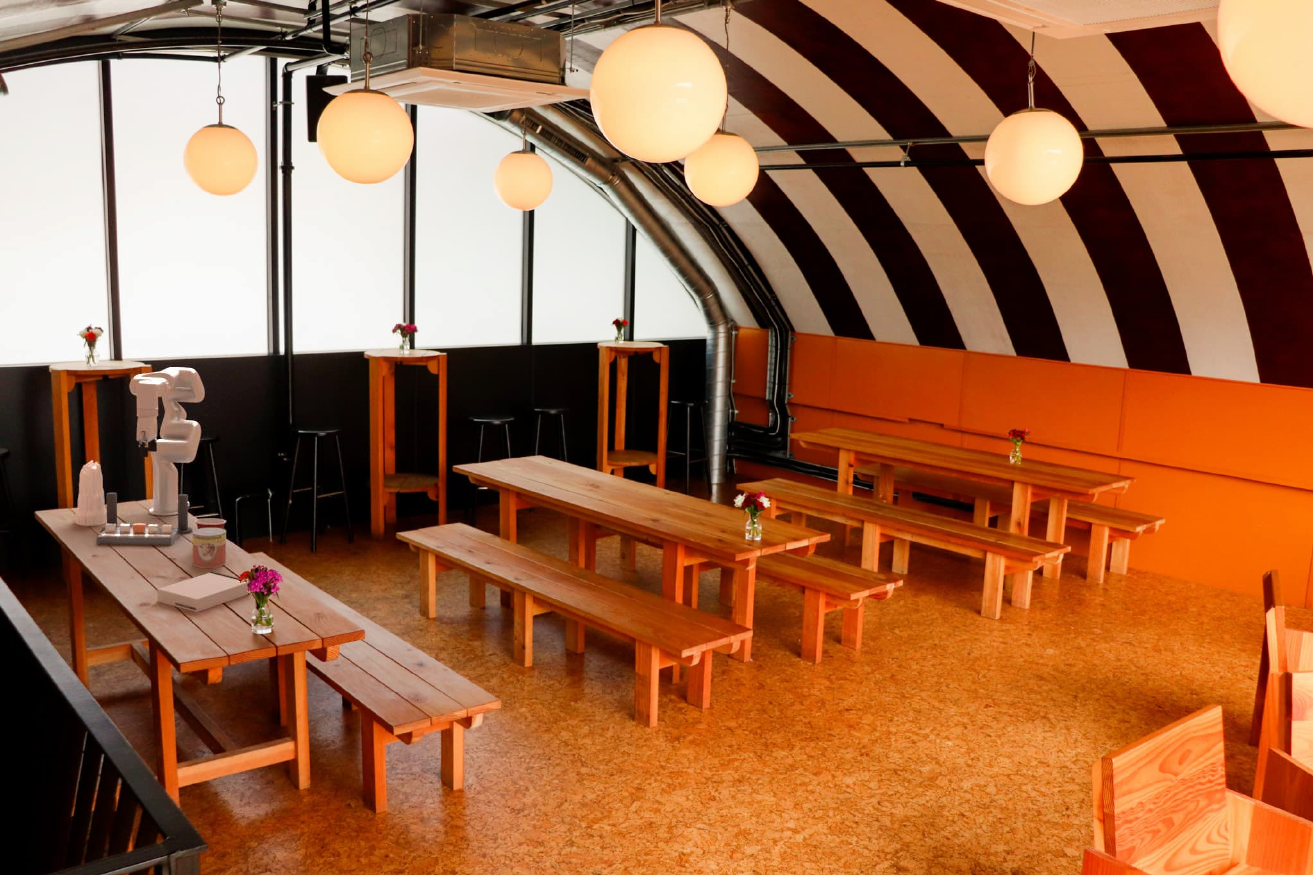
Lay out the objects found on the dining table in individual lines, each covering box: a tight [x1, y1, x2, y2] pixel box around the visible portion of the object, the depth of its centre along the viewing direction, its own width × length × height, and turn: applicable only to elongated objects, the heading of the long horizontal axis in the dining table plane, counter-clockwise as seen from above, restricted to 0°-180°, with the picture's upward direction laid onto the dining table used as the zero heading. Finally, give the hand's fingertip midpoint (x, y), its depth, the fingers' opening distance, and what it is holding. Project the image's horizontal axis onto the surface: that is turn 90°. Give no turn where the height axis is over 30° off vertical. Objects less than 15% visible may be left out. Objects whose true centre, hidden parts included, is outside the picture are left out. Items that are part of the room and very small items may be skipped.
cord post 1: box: [101, 492, 120, 533], centre depth 410 cm, size 7×7×15 cm
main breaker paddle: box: [132, 522, 147, 532], centre depth 401 cm, size 2×4×3 cm, turn 103°
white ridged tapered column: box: [75, 459, 107, 527], centre depth 417 cm, size 11×11×25 cm
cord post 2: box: [177, 493, 193, 535], centre depth 416 cm, size 7×7×15 cm
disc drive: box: [156, 571, 250, 613], centre depth 344 cm, size 18×22×5 cm
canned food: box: [192, 528, 227, 569], centre depth 379 cm, size 11×11×12 cm
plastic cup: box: [194, 517, 227, 529], centre depth 394 cm, size 11×11×12 cm
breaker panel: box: [96, 523, 181, 546], centre depth 401 cm, size 14×26×6 cm, turn 103°
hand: (148, 454), depth 415 cm, fingers open, 9 cm apart
